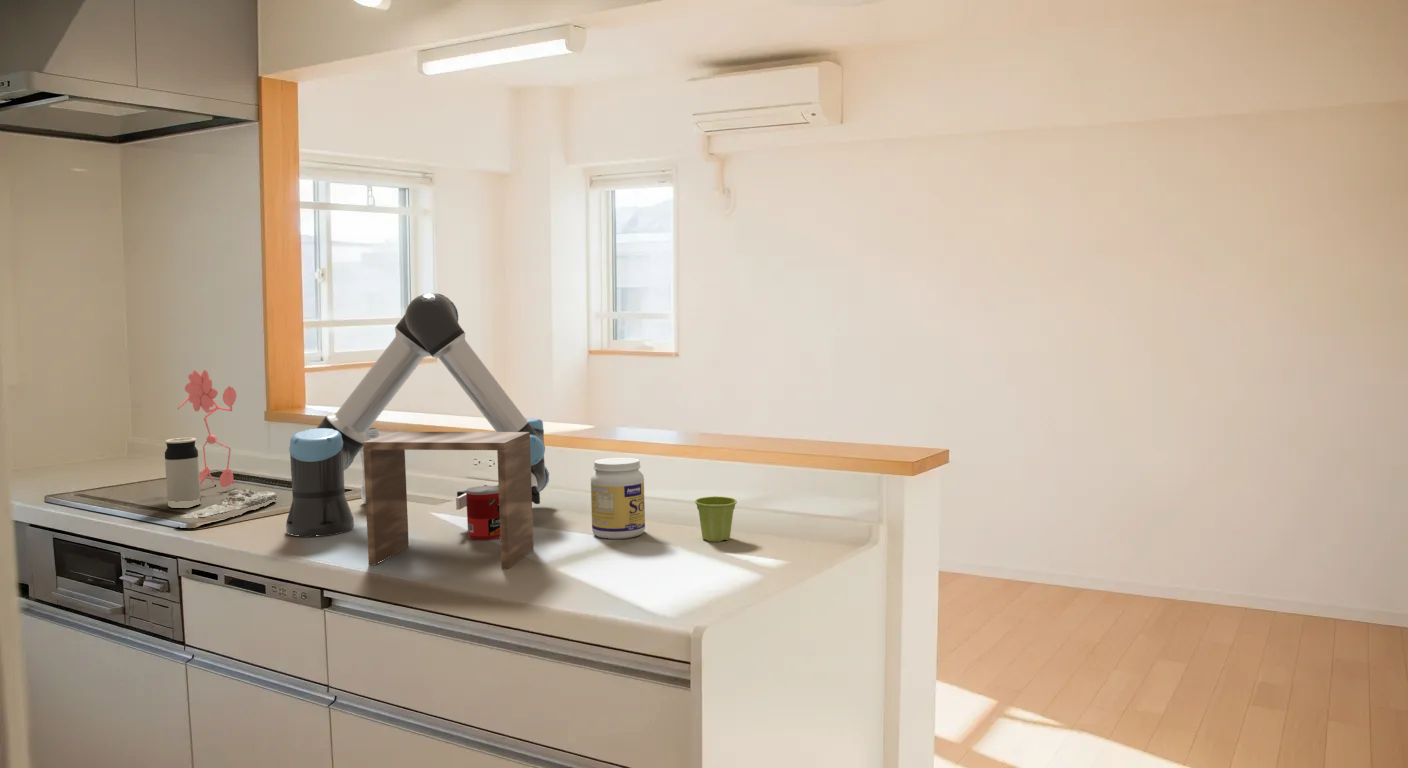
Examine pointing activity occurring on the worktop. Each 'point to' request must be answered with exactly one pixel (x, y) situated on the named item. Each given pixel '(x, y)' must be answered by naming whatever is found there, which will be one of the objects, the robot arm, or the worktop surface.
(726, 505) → the plant pot
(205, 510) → the elongated rock
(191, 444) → the travel mug
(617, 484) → the supplement tub
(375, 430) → the plastic bottle
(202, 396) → the pink flower figurine
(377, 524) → the shelf riser
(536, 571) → the worktop surface
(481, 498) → the canned food
